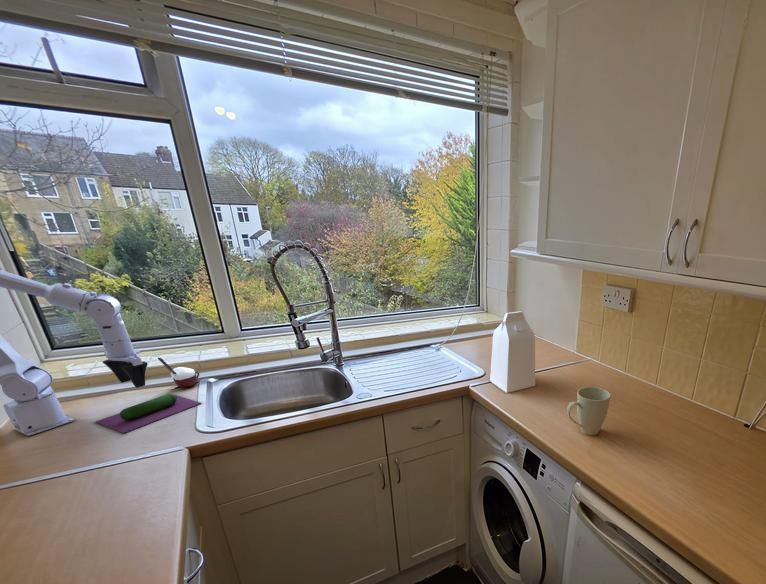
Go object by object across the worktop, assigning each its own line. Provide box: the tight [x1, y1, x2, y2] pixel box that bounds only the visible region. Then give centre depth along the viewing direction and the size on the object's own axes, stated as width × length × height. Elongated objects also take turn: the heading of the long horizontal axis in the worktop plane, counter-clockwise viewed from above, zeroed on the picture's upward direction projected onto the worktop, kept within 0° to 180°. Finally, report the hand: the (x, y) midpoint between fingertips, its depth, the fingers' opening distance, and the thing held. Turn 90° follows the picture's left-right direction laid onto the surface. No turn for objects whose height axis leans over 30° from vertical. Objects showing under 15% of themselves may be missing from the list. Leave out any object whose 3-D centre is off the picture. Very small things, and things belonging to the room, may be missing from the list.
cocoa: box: [157, 357, 200, 389], centre depth 136 cm, size 10×6×12 cm, turn 136°
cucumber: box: [119, 393, 177, 420], centre depth 120 cm, size 14×4×4 cm, turn 156°
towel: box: [95, 393, 202, 434], centre depth 121 cm, size 20×14×1 cm
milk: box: [489, 310, 536, 394], centre depth 141 cm, size 12×12×26 cm
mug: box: [566, 386, 611, 436], centre depth 113 cm, size 11×10×12 cm
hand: (133, 383), depth 119 cm, fingers open, 7 cm apart
